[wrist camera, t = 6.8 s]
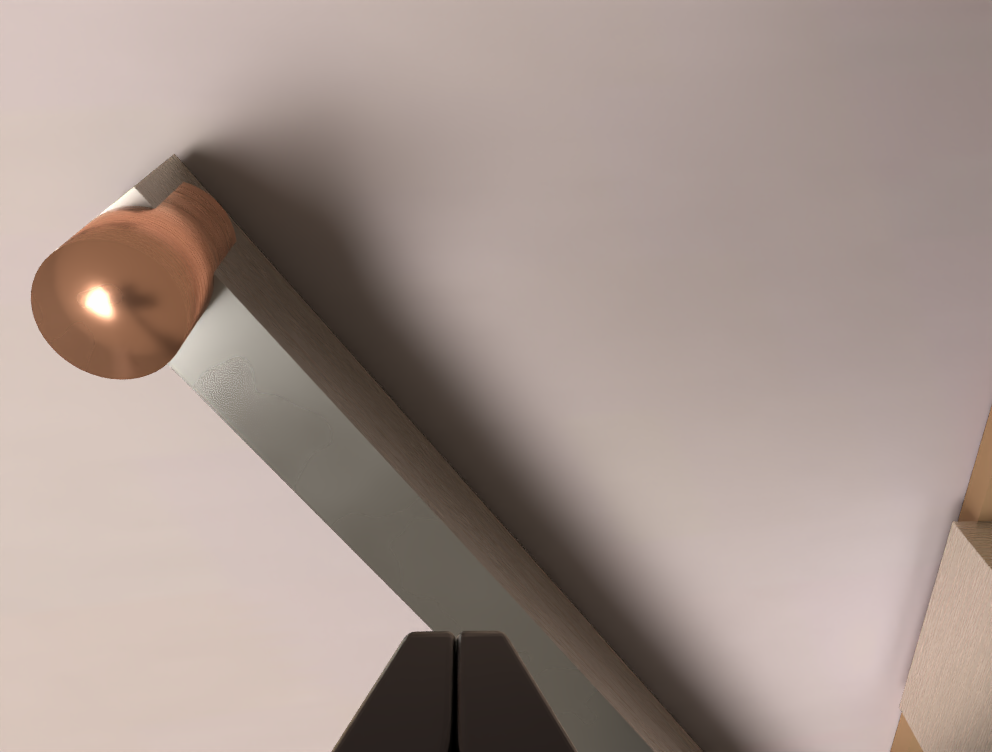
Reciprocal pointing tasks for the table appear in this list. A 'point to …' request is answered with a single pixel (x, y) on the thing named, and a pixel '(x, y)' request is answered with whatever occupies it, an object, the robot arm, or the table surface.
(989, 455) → the plate
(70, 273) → the lever
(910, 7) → the table surface
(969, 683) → the stone-textured block
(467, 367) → the table surface
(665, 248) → the table surface
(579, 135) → the table surface
